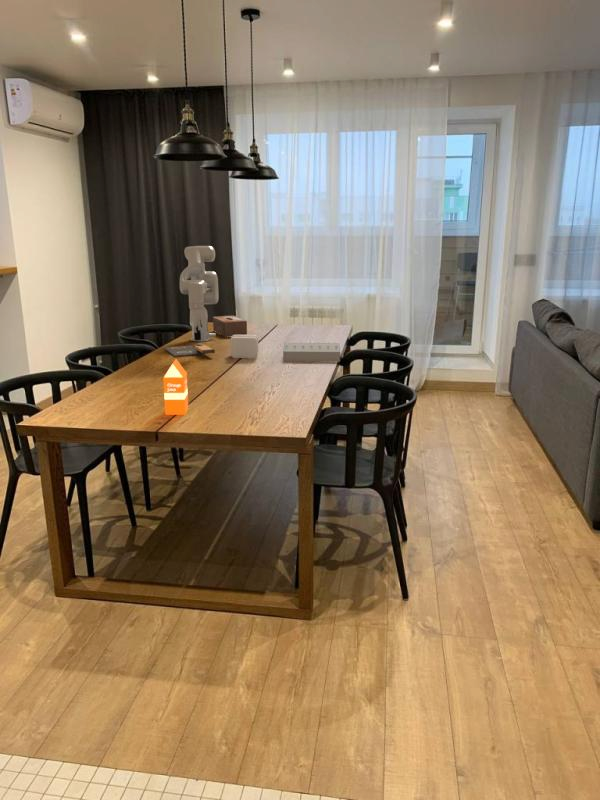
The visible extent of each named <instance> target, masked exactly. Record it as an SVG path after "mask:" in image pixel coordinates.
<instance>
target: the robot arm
mask: <svg viewBox="0 0 600 800" xmlns="http://www.w3.org/2000/svg"><path fill="white" fill-rule="evenodd" d="M183 253H184V257H185V259H186V260H187V263H188V264H187V266H186V267H185V268H184V269H183V270H182V272H181V273H180V275H179V276H180V277H179V291H180V293H181V294H182V295H188V308H189V325H190V326H191V329H192V337H190V338H189V340H190V341H192V342H208V340H209V341H211V339H212V338H211V337H216V335H217V333H216V332H209V324H208V323H209V321H208V320H209V319H208V310H207V308H206V307H205V305H216V304H218V302H219V297H220V296H219V295H220V294H219V279H218V278H219V277H218V275H217V273H216V272H215V271H211V270H208V271H206V268H205V267H206V264H205V262H206V263H207V262H210V263H211V262H214V261H215V259H216V250H215V248H214V247H213V246H211V245H193V246H186V247H185V248H184V252H183Z"/></svg>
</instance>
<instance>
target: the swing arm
mask: <svg viewBox="0 0 600 800" xmlns="http://www.w3.org/2000/svg"><path fill="white" fill-rule="evenodd" d="M194 347H195V349H197V350H198V351H200V352H202V353H203V355H206V354H215V352H216V351H215V348H211V347H209V346H208V345H206V344H203V343H196V345H194Z"/></svg>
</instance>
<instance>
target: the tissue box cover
mask: <svg viewBox="0 0 600 800" xmlns="http://www.w3.org/2000/svg"><path fill="white" fill-rule="evenodd" d="M212 324H213V325H212V329H213V330H214V331H216V332H218V333H220V334H221V335H223V336H225V337H227V336H233V335H248V322H247V320H246V319H243V318H241V317H238V316H236V315H223V316H222V315H221V316H213V317H212ZM214 331H213V332H214ZM216 332H215V333H216ZM218 333H217V334H218ZM221 335H220V336H221ZM223 336H222V337H223ZM225 337H224V338H225Z"/></svg>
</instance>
